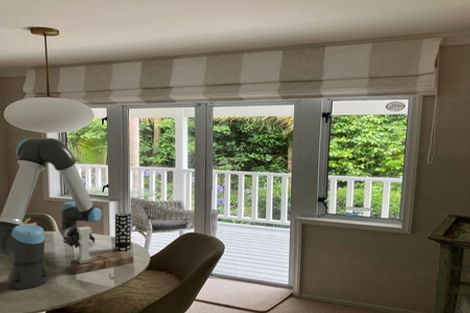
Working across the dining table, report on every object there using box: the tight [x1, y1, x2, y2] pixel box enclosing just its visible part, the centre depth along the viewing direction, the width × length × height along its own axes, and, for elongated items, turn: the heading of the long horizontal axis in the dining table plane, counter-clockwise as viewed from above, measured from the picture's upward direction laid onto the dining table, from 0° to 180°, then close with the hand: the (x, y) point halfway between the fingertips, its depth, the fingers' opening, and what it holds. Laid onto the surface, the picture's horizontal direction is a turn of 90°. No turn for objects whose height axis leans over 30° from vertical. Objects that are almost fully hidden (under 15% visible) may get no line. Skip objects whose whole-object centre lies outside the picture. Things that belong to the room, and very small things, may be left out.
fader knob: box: [76, 226, 92, 264], centre depth 164 cm, size 5×6×16 cm
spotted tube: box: [114, 212, 132, 253], centre depth 194 cm, size 8×8×20 cm
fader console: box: [70, 251, 134, 275], centre depth 169 cm, size 26×12×3 cm, turn 129°
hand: (87, 245), depth 159 cm, fingers closed on fader knob, 4 cm apart
